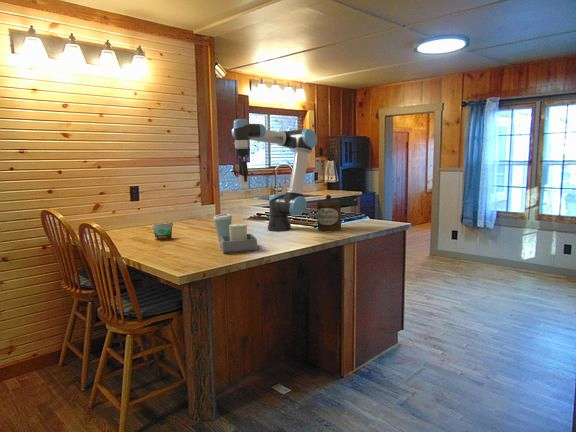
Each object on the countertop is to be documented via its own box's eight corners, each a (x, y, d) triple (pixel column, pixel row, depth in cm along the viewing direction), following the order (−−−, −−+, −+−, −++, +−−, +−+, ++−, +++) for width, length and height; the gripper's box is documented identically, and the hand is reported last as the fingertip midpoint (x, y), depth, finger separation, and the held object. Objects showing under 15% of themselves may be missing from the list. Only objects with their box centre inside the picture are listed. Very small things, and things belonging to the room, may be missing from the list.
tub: (252, 244, 224) (251, 233, 223) (257, 250, 207) (256, 239, 207) (220, 247, 220) (219, 236, 219) (223, 254, 203) (222, 242, 203)
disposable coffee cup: (229, 242, 231) (228, 216, 229) (211, 242, 233) (210, 216, 231) (235, 238, 241) (234, 213, 239) (218, 238, 244) (216, 213, 242)
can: (231, 249, 208) (229, 225, 207) (228, 245, 217) (227, 223, 216) (249, 247, 210) (248, 224, 209) (246, 244, 219) (245, 222, 218)
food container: (153, 241, 242) (152, 225, 240) (152, 240, 247) (151, 223, 246) (175, 239, 246) (174, 223, 245) (174, 237, 252) (172, 221, 250)
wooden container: (315, 231, 255) (314, 196, 252) (320, 227, 269) (319, 193, 266) (339, 231, 251) (338, 196, 248) (343, 227, 265) (342, 193, 262)
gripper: (232, 149, 236) (234, 186, 239) (237, 147, 212) (240, 188, 215) (245, 148, 238) (247, 185, 241) (252, 147, 214) (254, 188, 217)
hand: (243, 187), depth 228 cm, fingers open, 13 cm apart
